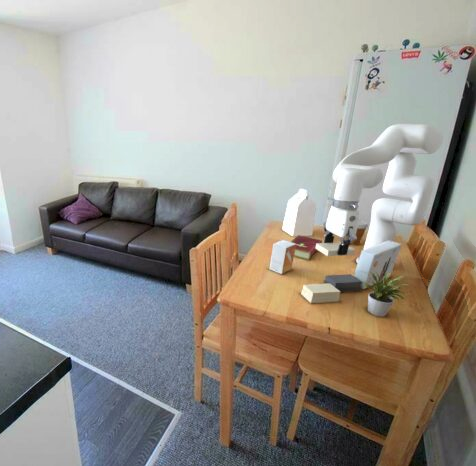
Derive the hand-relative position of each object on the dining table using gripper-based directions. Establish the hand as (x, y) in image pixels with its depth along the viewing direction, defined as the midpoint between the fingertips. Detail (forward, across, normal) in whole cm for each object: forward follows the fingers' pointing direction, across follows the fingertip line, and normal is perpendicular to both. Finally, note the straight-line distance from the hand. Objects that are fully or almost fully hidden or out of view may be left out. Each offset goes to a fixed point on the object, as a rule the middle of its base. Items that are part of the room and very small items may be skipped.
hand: (334, 249), depth 115 cm
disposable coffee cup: (+20, +48, -48) cm, 70 cm away
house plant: (+20, -12, -10) cm, 25 cm away
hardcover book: (+20, +42, -16) cm, 49 cm away
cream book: (+1, 0, 0) cm, 1 cm away
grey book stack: (+20, +5, -10) cm, 23 cm away
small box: (+20, +23, +6) cm, 31 cm away
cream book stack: (+20, -1, +2) cm, 20 cm away
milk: (+20, +67, -28) cm, 75 cm away
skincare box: (+20, +9, -27) cm, 35 cm away
